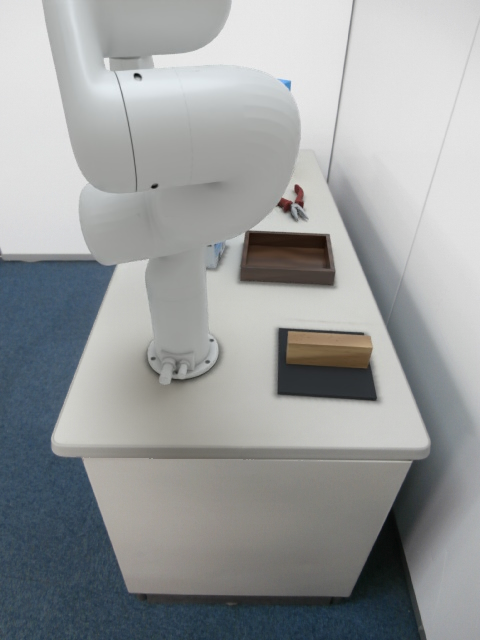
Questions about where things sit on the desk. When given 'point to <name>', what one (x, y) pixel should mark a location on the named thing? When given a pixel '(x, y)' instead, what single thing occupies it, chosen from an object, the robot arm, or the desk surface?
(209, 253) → the light bulb box
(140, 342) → the desk surface
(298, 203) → the pliers
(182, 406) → the desk surface
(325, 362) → the beech bar
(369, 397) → the mat
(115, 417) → the desk surface
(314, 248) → the wooden box
